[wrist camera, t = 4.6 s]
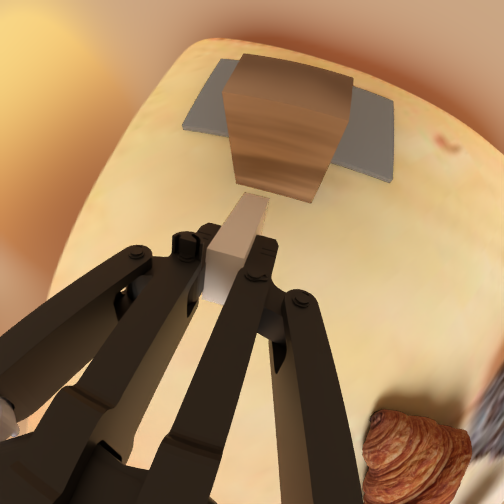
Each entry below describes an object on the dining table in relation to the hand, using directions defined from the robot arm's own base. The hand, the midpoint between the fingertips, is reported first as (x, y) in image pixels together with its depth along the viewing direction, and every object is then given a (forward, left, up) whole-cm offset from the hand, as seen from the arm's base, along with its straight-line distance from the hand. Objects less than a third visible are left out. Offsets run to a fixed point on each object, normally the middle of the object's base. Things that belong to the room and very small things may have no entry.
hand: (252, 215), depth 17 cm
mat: (+16, 0, -7) cm, 18 cm away
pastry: (-19, -23, -8) cm, 31 cm away
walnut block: (+7, 0, -7) cm, 10 cm away
